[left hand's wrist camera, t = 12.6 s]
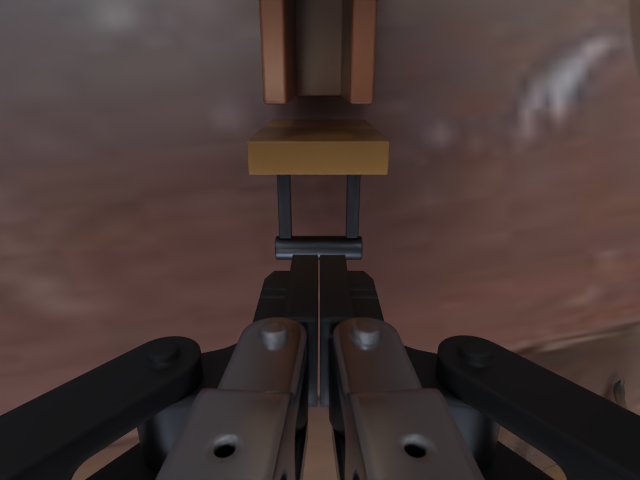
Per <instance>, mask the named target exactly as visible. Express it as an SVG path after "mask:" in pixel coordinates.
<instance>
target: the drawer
mask: <svg viewBox="0 0 640 480" xmlns="http://www.w3.org/2000/svg"><path fill="white" fill-rule="evenodd" d="M259 6H260V28H261V50H262V72H263V95H264V103H265V104H286V103H287V102H289V101H290V100H291V99H293V98H294V97H296V96H342V97H343V98H344V99H346V100H347V101H348V102H349V103H351V104H372V102H373V85H374V62H375V39H376V16H377V0H259ZM389 146H390V142H389V141H388V140H387V139H386V138H385V137H384V136H382V135H381V134H380V133H379V132H378V131H377V130H376V129H375V128H374V127H372V126H371V125H370V124H369V123H368V122H367V121H366V120H272V121H271V122H270V123H269V124H267V125H266V126H265V127H264V128H263V129H261V130H260V131H259V132H258V133H257V134H256V135H254V136H253V137H252V138H251V139H250V140H249V141H247V152H248V169H249V174H250V175H277V187H278V214H279V236H276V240H275V256H276V259H277V260H292V257H293V255H318V260H320V255H345V258H346V260H361V259H362V237H361V236H358V227H359V199H360V175H387V174H388V163H389ZM291 175H347V193H346V236H292V211H291Z"/></svg>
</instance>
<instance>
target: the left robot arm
mask: <svg viewBox="0 0 640 480" xmlns="http://www.w3.org/2000/svg"><path fill="white" fill-rule="evenodd" d="M317 369H318V255H293V257H292V263H291V270H290V271H274V272H273V273H271V274H270V275H269V276H268V277H267V278H265V280H264V284H263V287H262V291H261V294H260V299H259V302H258V305H257V309H256V312H255V316H254V320H253V323H252V324H250V325H249V326H247V327H246V328H245V329H244V330H243V332H242V334H241V336H240V338H239V341H238V343H236V344H234V345H232V346H230V347H227V348H224V349H220V350H216V351H211V352H206V353H201V350H200V347H199V345H198V344H197V343H196V342H195V341H194V340H192V339H190V338H186V337H180V336H171V337H163V338H159V339H155V340H152V341H149V342H147V343H145V344H143V345H141V346H139V347H137V348H135V349H133V350H131V351H129V352H127V353H125V354H123V355H121V356H119V357H117V358H115V359H113V360H111V361H109V362H107V363H105V364H103V365H101V366H99V367H97V368H95V369H93V370H91V371H89V372H87V373H85V374H83V375H81V376H79V377H77V378H75V379H73V380H71V381H69V382H67V383H65V384H63V385H61V386H59V387H57V388H55V389H53V390H51V391H49V392H47V393H45V394H43V395H41V396H39V397H37V398H35V399H33V400H31V401H29V402H27V403H25V404H23V405H21V406H19V407H17V408H15V409H13V410H11V411H9V412H7V413H5V414H3V415H1V416H0V480H71V479H72V477H73V475H74V473H75V472H76V470H77V469H78V468H79V466H80V465H81V464H82V463H83V462H85V461H86V460H87V459H88V458H90V457H91V456H93V455H94V454H96V453H98V452H99V451H101V450H102V449H104V448H105V447H107V446H108V445H110V444H111V443H113V442H114V441H116V440H118V439H119V438H121V437H122V436H124V435H125V434H127V433H128V432H130V431H131V430H133V429H134V428H136V427H137V430H138V435H139V440H140V443H138V444H137V445H135V446H134V447H132V448H131V449H129V450H128V451H127V452H125V453H124V454H122V455H121V456H119V457H118V458H116V459H115V460H113V461H112V462H110V463H109V464H107V465H106V466H105V467H103V468H102V469H100V470H99V471H97V472H96V473H94V474H93V475H91V476H90V477H88V478H87V479H85V480H303V472H304V464H305V456H306V449H307V441H308V406H317ZM320 407H329V419H330V422H331V425H332V441H333V449H334V456H335V464H336V472H337V480H554V479H553V478H552V477H550V476H549V475H547V474H546V473H544V472H543V471H541V470H540V469H538V468H537V467H535V466H534V465H533V464H531V463H530V462H528V461H527V460H525V459H524V458H522V457H521V456H519V455H518V454H516V453H515V452H513V451H512V450H511V449H509V448H508V447H506V446H505V445H503V444H502V443H500V442H499V441H497V438H498V433H499V428H500V425H501V426H502V427H504V428H506V429H507V430H509V431H510V432H512V433H513V434H515V435H516V436H518V437H519V438H521V439H522V440H524V441H526V442H527V443H529V444H530V445H532V446H533V447H535V448H536V449H538V450H539V451H541V452H542V453H544V454H546V455H547V456H549V457H550V458H551V459H552V460H554V461H555V462H556V463H557V464H558V465H559V467H560V468H561V469H562V471H563V472H564V474H565V476H566V479H567V480H640V416H639V415H637V414H635V413H633V412H631V411H629V410H627V409H625V408H623V407H621V406H619V405H617V404H615V403H613V402H611V401H609V400H607V399H605V398H603V397H601V396H599V395H597V394H595V393H593V392H591V391H589V390H587V389H585V388H583V387H581V386H579V385H577V384H575V383H573V382H571V381H569V380H567V379H565V378H563V377H561V376H559V375H557V374H555V373H553V372H551V371H549V370H547V369H545V368H543V367H541V366H539V365H537V364H535V363H533V362H531V361H529V360H527V359H525V358H523V357H521V356H519V355H517V354H515V353H513V352H511V351H509V350H507V349H505V348H503V347H501V346H499V345H497V344H495V343H493V342H491V341H489V340H486V339H483V338H479V337H474V336H465V335H464V336H453V337H449V338H447V339H445V340H444V341H442V342H441V343H440V344H439V347H438V353H437V354H435V353H430V352H425V351H420V350H416V349H412V348H410V347H407V346H405V345H403V343H402V341H401V338H400V336H399V334H398V332H397V330H396V329H395V328H394V327H393V326H391V325H390V324H388V323H386V322H384V319H383V315H382V311H381V307H380V304H379V300H378V296H377V292H376V290H375V285H374V281H373V279H372V278H371V277H370V276H369V275H367V274H366V273H365V272H364V271H347V265H346V258H345V255H320Z"/></svg>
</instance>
